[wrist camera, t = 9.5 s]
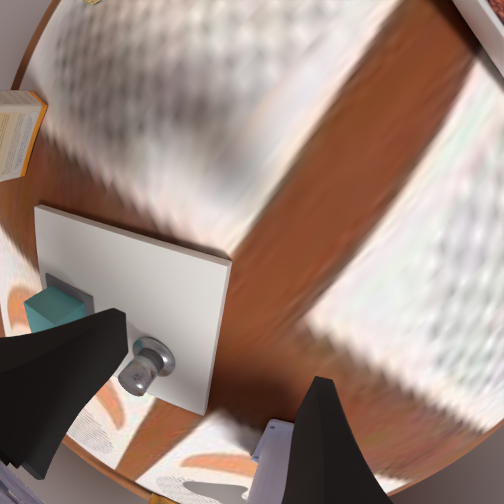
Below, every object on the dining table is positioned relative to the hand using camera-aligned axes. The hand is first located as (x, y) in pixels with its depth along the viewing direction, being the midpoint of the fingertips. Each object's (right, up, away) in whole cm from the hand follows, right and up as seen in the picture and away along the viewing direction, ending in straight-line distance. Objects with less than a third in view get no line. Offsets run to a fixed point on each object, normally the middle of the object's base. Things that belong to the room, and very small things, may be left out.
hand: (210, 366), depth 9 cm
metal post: (-7, -4, +13) cm, 15 cm away
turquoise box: (-16, -2, +13) cm, 21 cm away
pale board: (-11, -1, +13) cm, 17 cm away
